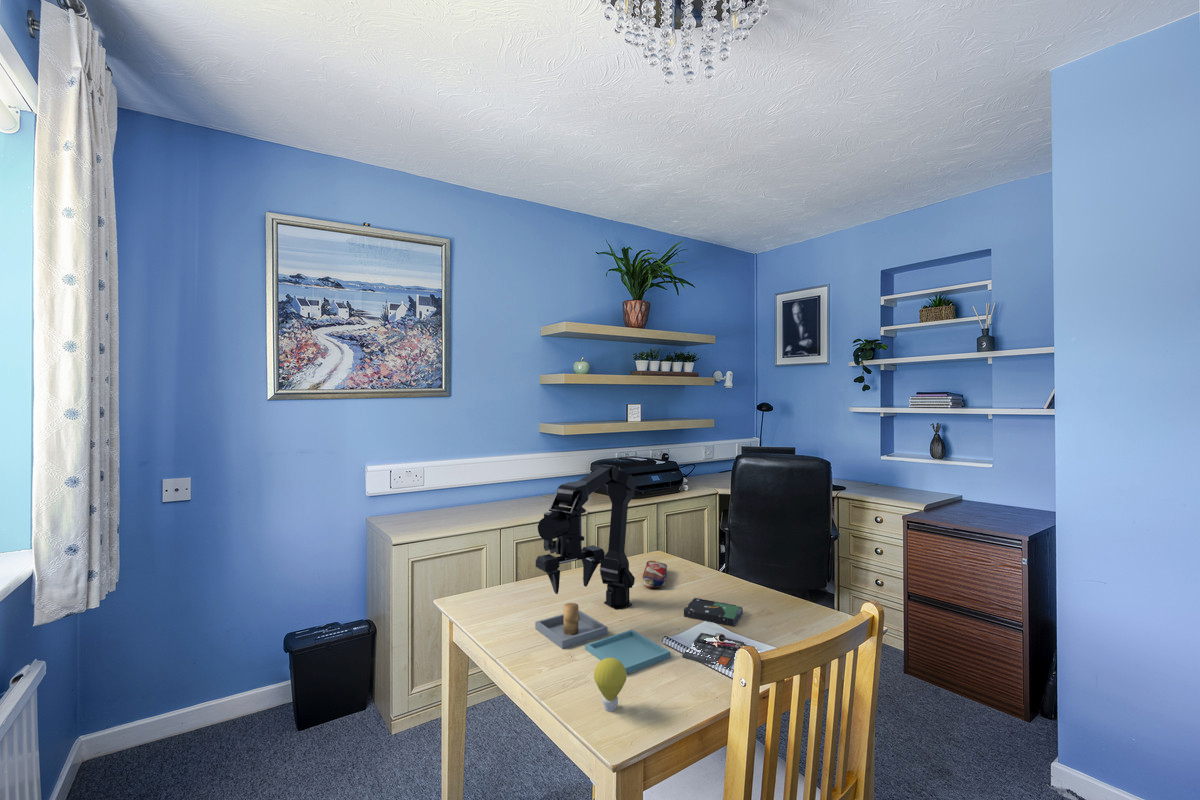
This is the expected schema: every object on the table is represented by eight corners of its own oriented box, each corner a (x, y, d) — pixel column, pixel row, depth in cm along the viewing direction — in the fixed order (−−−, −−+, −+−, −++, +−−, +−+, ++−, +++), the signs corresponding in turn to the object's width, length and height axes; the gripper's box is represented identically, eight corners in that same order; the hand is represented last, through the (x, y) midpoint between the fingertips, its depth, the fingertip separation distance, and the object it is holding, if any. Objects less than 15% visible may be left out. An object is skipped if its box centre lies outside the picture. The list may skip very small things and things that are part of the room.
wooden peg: (573, 627, 148) (573, 601, 148) (581, 632, 145) (581, 606, 145) (560, 630, 146) (560, 605, 146) (568, 636, 143) (568, 609, 143)
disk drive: (683, 619, 156) (735, 628, 149) (683, 609, 156) (734, 618, 149) (694, 606, 165) (743, 614, 159) (693, 597, 165) (743, 605, 158)
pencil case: (678, 574, 193) (678, 560, 193) (661, 593, 175) (661, 577, 175) (649, 570, 197) (649, 556, 197) (629, 588, 180) (629, 573, 180)
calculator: (681, 655, 132) (701, 631, 145) (681, 659, 132) (701, 635, 145) (728, 667, 126) (745, 641, 140) (728, 671, 126) (745, 645, 140)
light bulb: (592, 699, 114) (592, 652, 114) (624, 698, 115) (624, 651, 114) (595, 718, 107) (595, 668, 107) (628, 716, 108) (628, 667, 108)
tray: (631, 635, 144) (631, 629, 144) (670, 657, 132) (670, 651, 132) (585, 650, 136) (585, 644, 136) (621, 676, 123) (621, 669, 123)
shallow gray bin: (578, 617, 155) (578, 609, 155) (607, 635, 144) (607, 627, 144) (535, 630, 147) (535, 621, 147) (562, 650, 136) (562, 640, 136)
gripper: (583, 521, 157) (583, 574, 158) (525, 530, 146) (525, 588, 147) (605, 529, 148) (605, 585, 148) (546, 540, 137) (546, 601, 138)
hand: (571, 589), depth 146 cm, fingers open, 9 cm apart
